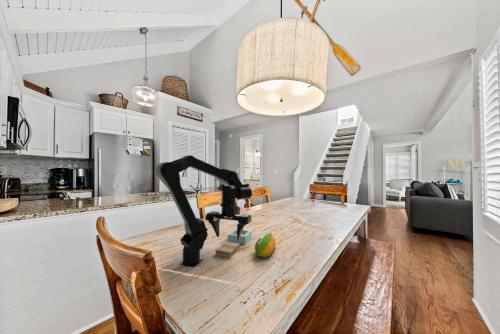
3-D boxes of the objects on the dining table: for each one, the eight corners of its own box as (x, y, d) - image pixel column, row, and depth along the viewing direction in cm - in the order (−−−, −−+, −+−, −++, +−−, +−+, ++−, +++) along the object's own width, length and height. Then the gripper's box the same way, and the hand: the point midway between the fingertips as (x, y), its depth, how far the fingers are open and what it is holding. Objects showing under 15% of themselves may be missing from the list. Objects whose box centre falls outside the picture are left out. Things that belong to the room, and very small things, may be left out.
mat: (232, 260, 78) (232, 259, 78) (211, 257, 81) (211, 256, 81) (243, 249, 90) (243, 247, 90) (224, 246, 93) (224, 245, 93)
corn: (251, 240, 79) (264, 226, 98) (250, 260, 79) (263, 242, 98) (270, 244, 76) (280, 229, 95) (269, 264, 77) (279, 245, 96)
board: (230, 257, 80) (230, 252, 80) (215, 255, 82) (215, 250, 82) (239, 248, 89) (239, 243, 89) (226, 246, 91) (226, 241, 91)
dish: (245, 246, 93) (245, 236, 93) (227, 244, 96) (227, 234, 96) (251, 239, 102) (251, 230, 102) (235, 237, 105) (235, 228, 105)
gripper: (255, 199, 90) (255, 234, 90) (217, 196, 96) (216, 230, 96) (247, 203, 80) (246, 243, 80) (205, 200, 85) (204, 237, 85)
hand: (228, 238), depth 85 cm, fingers open, 9 cm apart
